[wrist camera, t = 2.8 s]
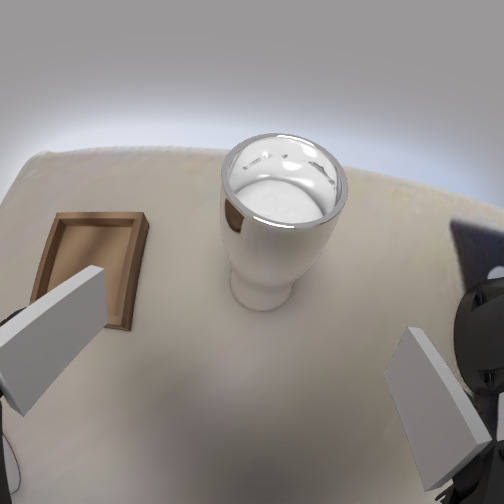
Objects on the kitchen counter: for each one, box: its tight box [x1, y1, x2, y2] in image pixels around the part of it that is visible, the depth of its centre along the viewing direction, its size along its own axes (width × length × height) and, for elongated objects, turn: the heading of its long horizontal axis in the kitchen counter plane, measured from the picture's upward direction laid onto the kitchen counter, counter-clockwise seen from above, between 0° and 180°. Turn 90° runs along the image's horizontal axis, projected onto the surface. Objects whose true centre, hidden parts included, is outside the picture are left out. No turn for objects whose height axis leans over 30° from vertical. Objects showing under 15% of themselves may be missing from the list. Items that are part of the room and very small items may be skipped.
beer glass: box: [220, 133, 348, 311], centre depth 20 cm, size 7×7×15 cm
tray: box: [29, 212, 149, 331], centre depth 25 cm, size 12×12×2 cm
